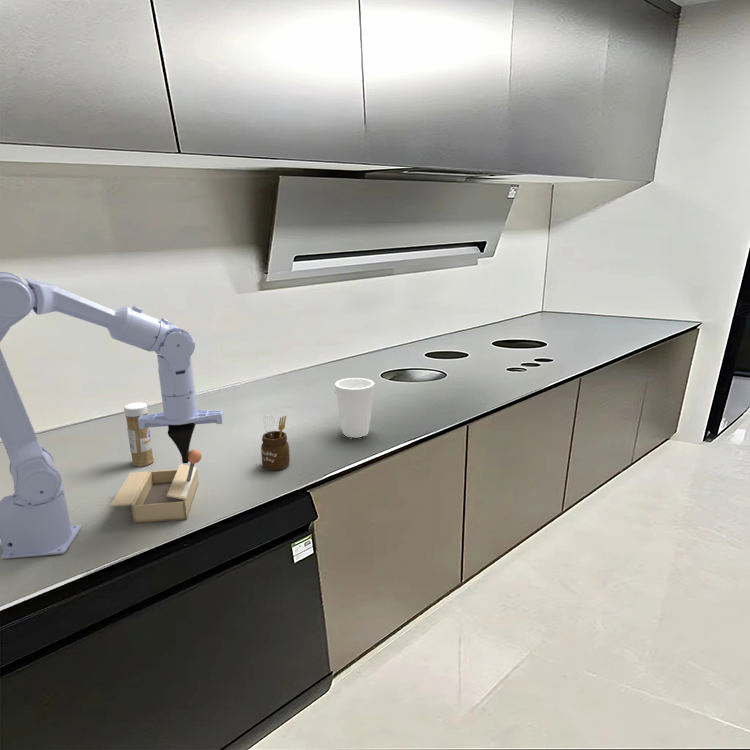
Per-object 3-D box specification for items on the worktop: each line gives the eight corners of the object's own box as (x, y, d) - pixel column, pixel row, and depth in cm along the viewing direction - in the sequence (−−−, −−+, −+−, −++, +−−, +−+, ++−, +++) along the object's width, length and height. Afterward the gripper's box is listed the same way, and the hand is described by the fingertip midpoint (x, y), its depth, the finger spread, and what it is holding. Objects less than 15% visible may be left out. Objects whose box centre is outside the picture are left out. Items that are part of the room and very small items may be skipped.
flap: (166, 496, 98) (174, 461, 97) (179, 465, 110) (186, 434, 109) (189, 500, 99) (197, 466, 97) (199, 469, 111) (207, 438, 110)
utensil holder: (277, 456, 125) (274, 406, 121) (296, 464, 121) (294, 412, 117) (256, 465, 120) (252, 413, 117) (275, 474, 116) (272, 420, 113)
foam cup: (328, 433, 138) (327, 383, 134) (357, 424, 144) (356, 375, 140) (353, 444, 131) (352, 391, 127) (382, 434, 137) (382, 383, 133)
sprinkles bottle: (154, 465, 121) (147, 406, 117) (131, 469, 119) (123, 409, 115) (153, 457, 125) (146, 400, 121) (131, 460, 123) (123, 403, 119)
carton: (112, 525, 97) (109, 506, 96) (133, 488, 111) (130, 471, 110) (186, 519, 99) (184, 501, 98) (198, 483, 112) (196, 466, 111)
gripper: (222, 383, 105) (228, 449, 108) (141, 387, 102) (150, 455, 106) (217, 394, 98) (224, 465, 102) (131, 399, 96) (141, 471, 100)
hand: (186, 461), depth 104 cm, fingers closed, pressing on flap
